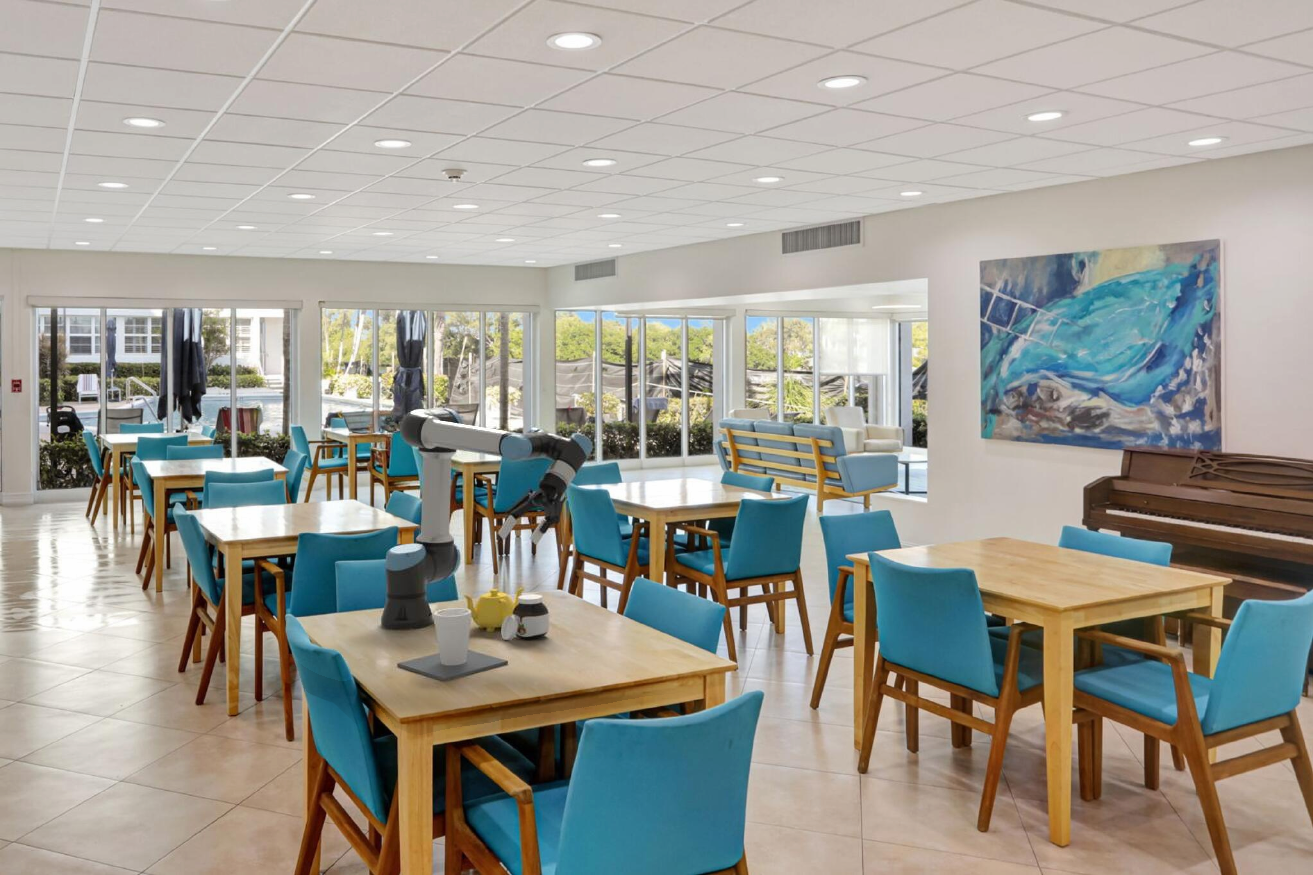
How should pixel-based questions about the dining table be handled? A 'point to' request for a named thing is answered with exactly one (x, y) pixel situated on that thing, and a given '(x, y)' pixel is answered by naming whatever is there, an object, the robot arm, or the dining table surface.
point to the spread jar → (527, 619)
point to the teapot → (492, 608)
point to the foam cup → (452, 634)
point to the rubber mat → (447, 672)
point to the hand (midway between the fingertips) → (516, 538)
